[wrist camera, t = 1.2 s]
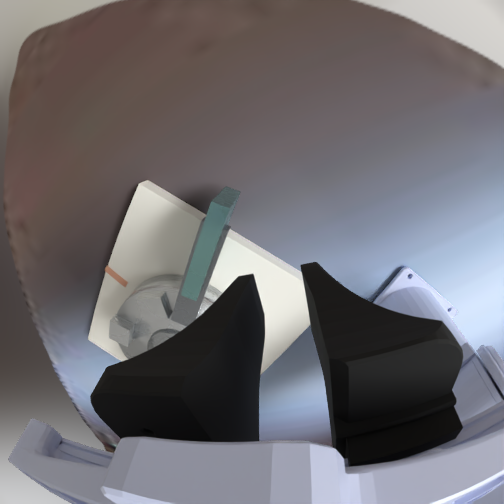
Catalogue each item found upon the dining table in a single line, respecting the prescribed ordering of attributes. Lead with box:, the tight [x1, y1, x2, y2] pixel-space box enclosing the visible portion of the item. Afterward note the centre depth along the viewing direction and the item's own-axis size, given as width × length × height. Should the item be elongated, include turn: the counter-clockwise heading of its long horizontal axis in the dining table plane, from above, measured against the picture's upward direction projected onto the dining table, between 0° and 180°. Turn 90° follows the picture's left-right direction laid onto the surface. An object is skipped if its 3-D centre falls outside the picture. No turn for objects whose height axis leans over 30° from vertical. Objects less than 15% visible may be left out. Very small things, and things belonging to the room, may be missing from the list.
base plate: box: [88, 180, 310, 375], centre depth 24 cm, size 17×19×2 cm
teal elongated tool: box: [109, 186, 240, 359], centre depth 20 cm, size 18×11×5 cm, turn 158°
